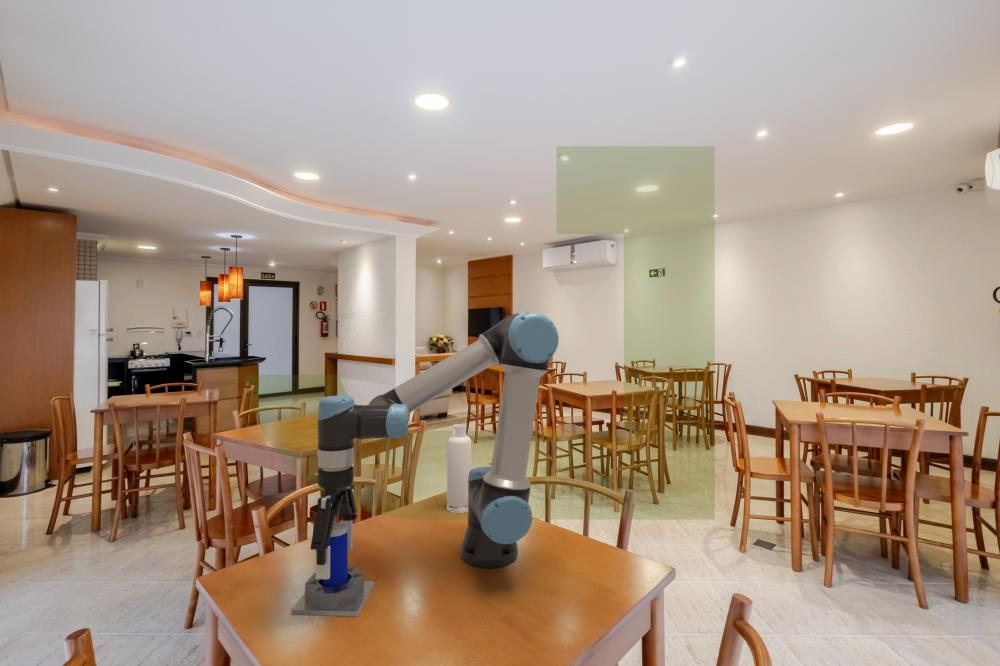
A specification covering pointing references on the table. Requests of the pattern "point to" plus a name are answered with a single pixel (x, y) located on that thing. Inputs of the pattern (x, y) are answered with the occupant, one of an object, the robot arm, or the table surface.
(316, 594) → the socket
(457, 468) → the bottle
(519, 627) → the table surface
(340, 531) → the beverage can
